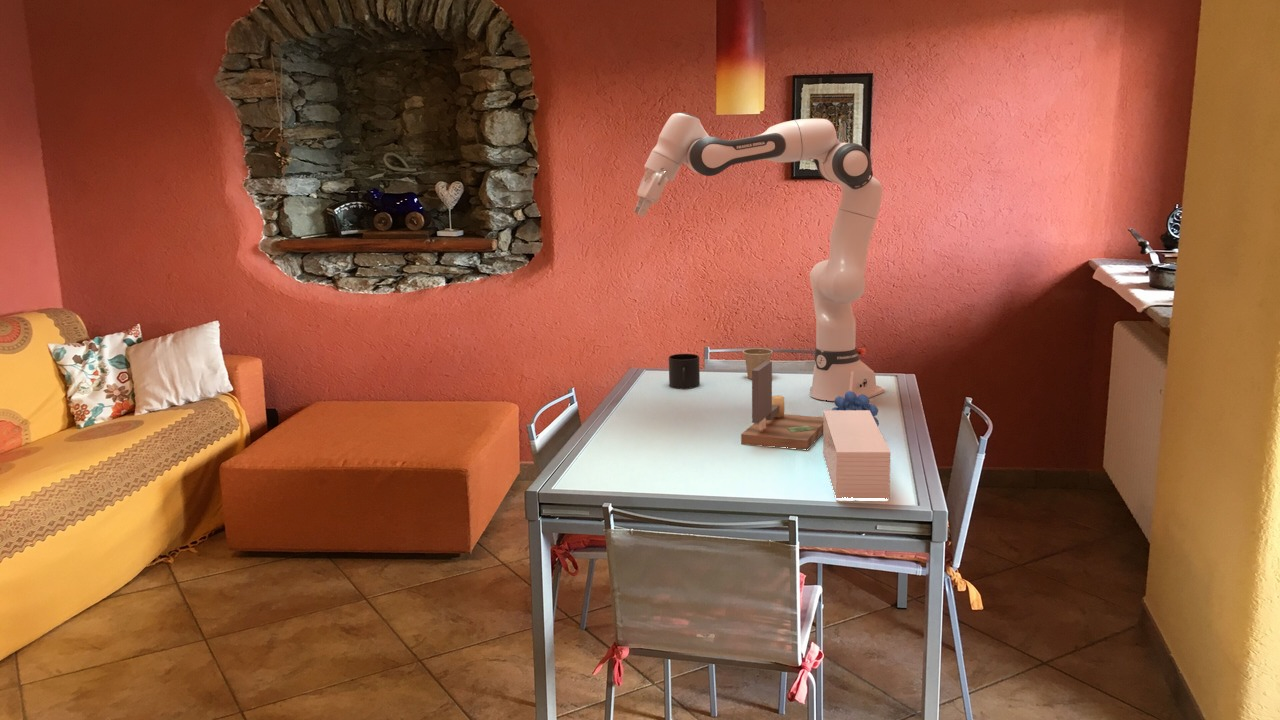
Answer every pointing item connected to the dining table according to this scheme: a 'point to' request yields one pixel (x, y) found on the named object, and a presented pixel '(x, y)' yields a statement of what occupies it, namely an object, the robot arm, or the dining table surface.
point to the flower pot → (755, 358)
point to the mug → (684, 371)
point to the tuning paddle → (764, 396)
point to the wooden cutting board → (785, 432)
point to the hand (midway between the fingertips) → (638, 214)
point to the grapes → (855, 404)
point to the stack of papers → (855, 454)
